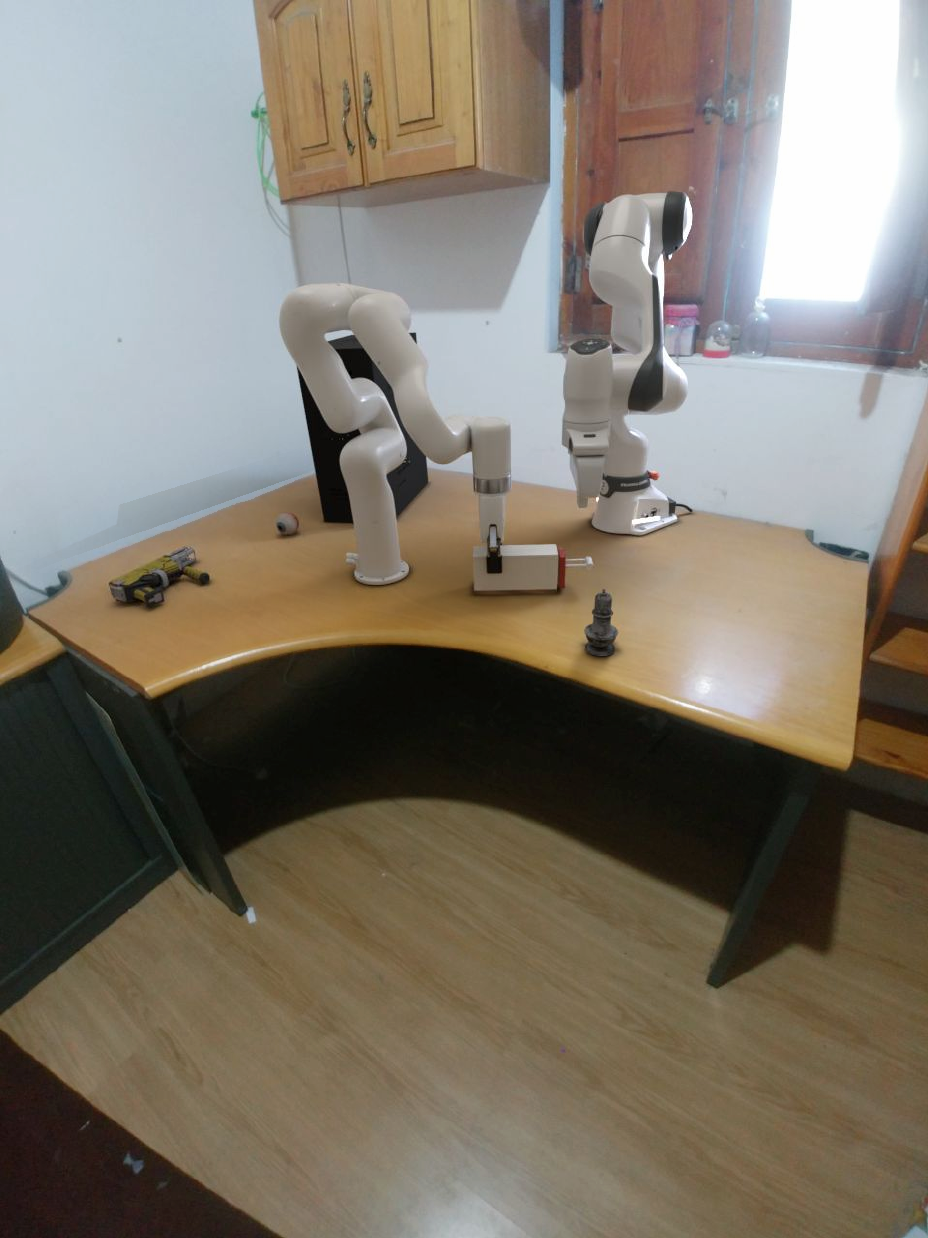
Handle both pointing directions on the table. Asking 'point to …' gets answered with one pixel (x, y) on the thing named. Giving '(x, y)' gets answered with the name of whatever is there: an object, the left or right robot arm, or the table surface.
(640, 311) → the right robot arm
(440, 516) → the table surface
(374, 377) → the black computer case
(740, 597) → the table surface
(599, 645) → the dark grey chess piece
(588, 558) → the drawer
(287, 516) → the eyeball
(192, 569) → the toy gun
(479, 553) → the cabinet
